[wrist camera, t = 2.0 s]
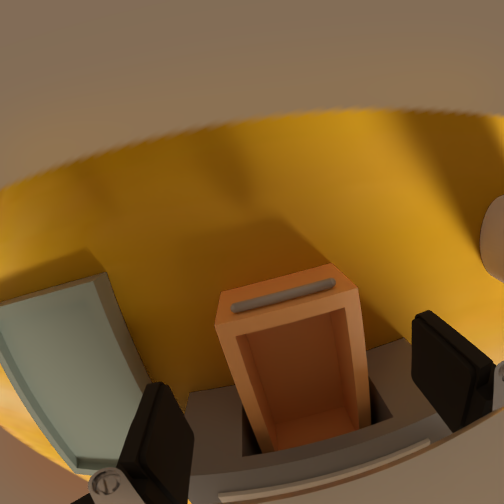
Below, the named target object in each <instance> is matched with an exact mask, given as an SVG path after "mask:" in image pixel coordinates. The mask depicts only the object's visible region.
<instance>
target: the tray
mask: <svg viewBox="0 0 504 504" xmlns="http://www.w3.org/2000/svg"><path fill="white" fill-rule="evenodd" d="M0 364H1V366H2V367H3V369H4V371H5V373H6V375H7V377H8V379H9V380H10V382H11V384H12V386H13V387H14V389H15V391H16V393H17V394H18V396H19V397H20V399H21V401H22V402H23V404H24V406H25V407H26V409H27V410H28V412H29V413H30V415H31V416H32V418H33V419H34V421H35V422H36V424H37V425H38V427H39V428H40V430H41V431H42V432H43V434H44V435H45V436H46V438H47V439H48V441H49V442H50V443H51V445H52V446H53V447H54V448H55V450H56V451H57V452H58V454H59V455H60V456H61V457H62V459H63V460H64V461H65V462H66V463H67V465H68V466H69V467H70V468H71V469H72V471H73V472H74V473H75V474H83V475H93V474H94V473H95V472H97V471H98V470H100V469H103V468H107V467H114V468H116V466H117V463H118V460H119V457H120V454H121V451H122V448H123V445H124V442H125V439H126V437H127V434H128V431H129V428H130V425H131V423H132V421H133V419H134V417H135V414H136V411H137V409H138V406H139V403H140V401H141V398H142V395H143V393H144V390H145V387H146V385H147V384H149V383H152V382H151V380H150V378H149V376H148V374H147V371H146V369H145V367H144V365H143V363H142V361H141V358H140V356H139V354H138V352H137V350H136V347H135V345H134V343H133V340H132V338H131V336H130V333H129V331H128V328H127V326H126V324H125V321H124V319H123V316H122V313H121V311H120V308H119V306H118V303H117V300H116V298H115V295H114V292H113V290H112V287H111V284H110V281H109V278H108V275H107V273H106V272H104V273H100V274H97V275H93V276H89V277H86V278H82V279H79V280H75V281H72V282H68V283H65V284H61V285H58V286H54V287H51V288H47V289H44V290H40V291H37V292H33V293H30V294H26V295H23V296H19V297H16V298H13V299H9V300H6V301H2V302H0Z"/></svg>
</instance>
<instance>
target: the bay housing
mask: <svg viewBox="0 0 504 504" xmlns="http://www.w3.org/2000/svg"><path fill="white" fill-rule="evenodd" d="M366 357H367V367H368V379H369V393H370V410H371V426H368V427H365V428H362V429H359V430H356V431H353V432H350V433H346V434H343V435H340V436H336V437H333V438H329V439H326V440H322V441H318V442H314V443H311V444H306V445H302V446H298V447H294V448H289V449H285V450H280V451H275V452H270V453H264V454H263V453H262V451H261V449H260V446H259V444H258V441H257V439H256V436H255V434H254V432H253V429H252V427H251V424H250V422H249V419H248V416H247V414H246V411H245V409H244V406H243V404H242V401H241V398H240V396H239V393H238V390H237V388H236V385H232V386H227V387H221V388H215V389H210V390H204V391H197V392H191V393H190V394H189V398H188V402H187V407H186V411H185V415H184V416H185V418H186V420H187V422H188V424H189V425H190V427H191V429H192V431H193V433H194V438H195V441H194V449H193V457H192V466H191V475H190V484H189V493H188V499H189V500H190V502H191V503H192V504H215V503H226V502H235V501H243V500H250V499H257V498H263V497H269V496H274V495H279V494H285V493H289V492H294V491H299V490H303V489H307V488H311V487H315V486H319V485H323V484H327V483H330V482H334V481H337V480H340V479H344V478H347V477H350V476H353V475H356V474H359V473H362V472H365V471H368V470H371V469H374V468H376V467H379V466H382V465H384V464H387V463H389V462H392V461H394V460H397V459H399V458H402V457H404V456H406V455H409V454H411V453H413V452H416V451H418V450H420V449H422V448H424V447H426V446H428V445H431V444H433V443H435V442H437V441H439V440H441V439H443V438H445V437H447V436H449V435H451V434H452V432H451V430H450V429H449V428H448V426H447V425H446V424H445V422H444V421H443V420H442V418H441V417H440V416H439V414H438V413H437V412H436V410H435V409H434V408H433V406H432V405H431V404H430V403H429V401H428V400H427V399H426V397H425V396H424V395H423V393H422V392H421V391H420V390H419V388H418V387H417V386H416V384H415V383H414V382H413V380H412V377H411V360H412V345H411V344H410V343H409V342H408V341H407V340H406V339H405V338H402V339H399V340H396V341H393V342H391V343H388V344H385V345H382V346H379V347H376V348H373V349H370V350H367V351H366Z"/></svg>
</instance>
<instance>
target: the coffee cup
mask: <svg viewBox="0 0 504 504" xmlns="http://www.w3.org/2000/svg"><path fill="white" fill-rule="evenodd" d="M480 253H481V259H482V262H483V265H484V267H485V269H486V270H487V272H488V273H489V274H490V275H491V276H493V277H495V278H496V279H498V280H500V281H501V282H503V283H504V195H502V196H499V197H498V198H496V199H495V200H494V201H493V202H492V203H491V205H490V206H489V208H488V210H487V212H486V214H485V216H484V219H483V223H482V227H481V233H480Z"/></svg>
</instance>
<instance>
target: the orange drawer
mask: <svg viewBox="0 0 504 504" xmlns="http://www.w3.org/2000/svg"><path fill="white" fill-rule="evenodd" d="M214 326H215V329H216V332H217V335H218V338H219V341H220V344H221V347H222V349H223V352H224V355H225V358H226V361H227V363H228V366H229V369H230V372H231V374H232V377H233V380H234V382H235V385H236V388H237V390H238V393H239V396H240V398H241V401H242V404H243V406H244V409H245V411H246V414H247V416H248V419H249V422H250V424H251V427H252V429H253V432H254V434H255V436H256V439H257V441H258V444H259V446H260V449H261V451H262V453H263V454H264V453H270V452H275V451H280V450H285V449H289V448H294V447H298V446H302V445H306V444H311V443H314V442H318V441H322V440H326V439H329V438H333V437H336V436H340V435H343V434H346V433H350V432H353V431H356V430H359V429H362V428H365V427H368V426H371V410H370V393H369V379H368V367H367V357H366V347H365V338H364V329H363V321H362V313H361V306H360V299H359V292H358V287H357V286H356V285H355V284H354V283H353V282H352V281H350V280H349V279H348V278H347V277H346V276H345V275H344V274H343V273H342V272H341V271H340V270H339V269H338V268H337V267H336V266H335V265H333V264H332V263H329V264H326V265H322V266H318V267H315V268H311V269H307V270H304V271H300V272H296V273H292V274H289V275H285V276H281V277H277V278H273V279H269V280H266V281H262V282H258V283H254V284H250V285H246V286H242V287H238V288H234V289H230V290H226V291H222V292H221V294H220V299H219V304H218V309H217V314H216V319H215V324H214Z"/></svg>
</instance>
